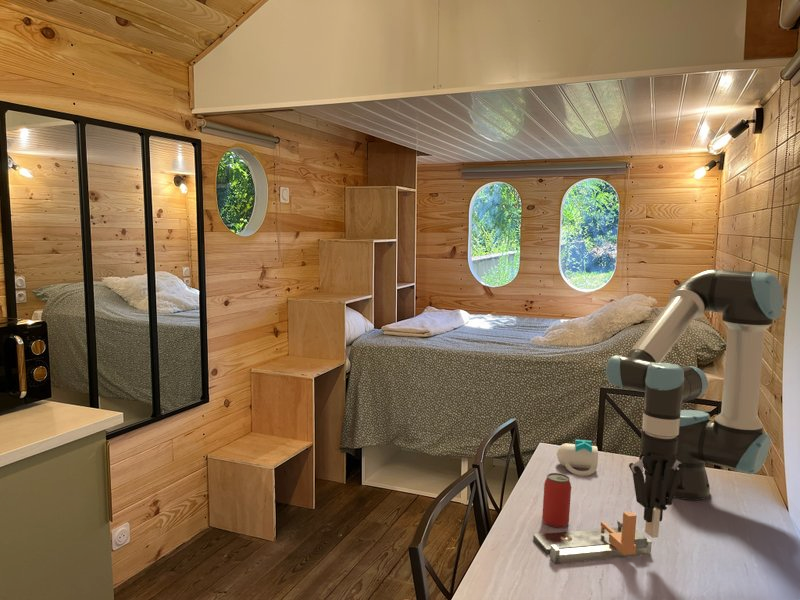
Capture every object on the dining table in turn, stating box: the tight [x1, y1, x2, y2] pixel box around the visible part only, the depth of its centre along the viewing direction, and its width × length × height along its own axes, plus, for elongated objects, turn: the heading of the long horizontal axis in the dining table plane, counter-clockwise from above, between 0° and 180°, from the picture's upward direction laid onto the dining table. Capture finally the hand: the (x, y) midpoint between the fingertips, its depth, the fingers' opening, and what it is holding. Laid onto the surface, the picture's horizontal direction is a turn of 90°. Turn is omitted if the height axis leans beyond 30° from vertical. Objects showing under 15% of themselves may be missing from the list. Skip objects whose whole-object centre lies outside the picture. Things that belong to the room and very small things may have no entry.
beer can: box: [541, 472, 572, 528], centre depth 155 cm, size 7×7×12 cm
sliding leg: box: [600, 511, 637, 555], centre depth 141 cm, size 3×12×10 cm, turn 13°
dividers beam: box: [549, 519, 653, 565], centre depth 142 cm, size 24×9×4 cm, turn 103°
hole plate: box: [532, 526, 622, 555], centre depth 146 cm, size 24×7×1 cm, turn 103°
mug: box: [556, 438, 599, 477], centre depth 191 cm, size 12×9×12 cm
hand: (651, 534), depth 138 cm, fingers closed
